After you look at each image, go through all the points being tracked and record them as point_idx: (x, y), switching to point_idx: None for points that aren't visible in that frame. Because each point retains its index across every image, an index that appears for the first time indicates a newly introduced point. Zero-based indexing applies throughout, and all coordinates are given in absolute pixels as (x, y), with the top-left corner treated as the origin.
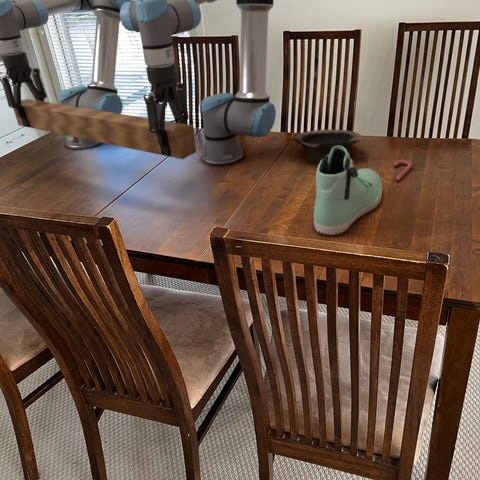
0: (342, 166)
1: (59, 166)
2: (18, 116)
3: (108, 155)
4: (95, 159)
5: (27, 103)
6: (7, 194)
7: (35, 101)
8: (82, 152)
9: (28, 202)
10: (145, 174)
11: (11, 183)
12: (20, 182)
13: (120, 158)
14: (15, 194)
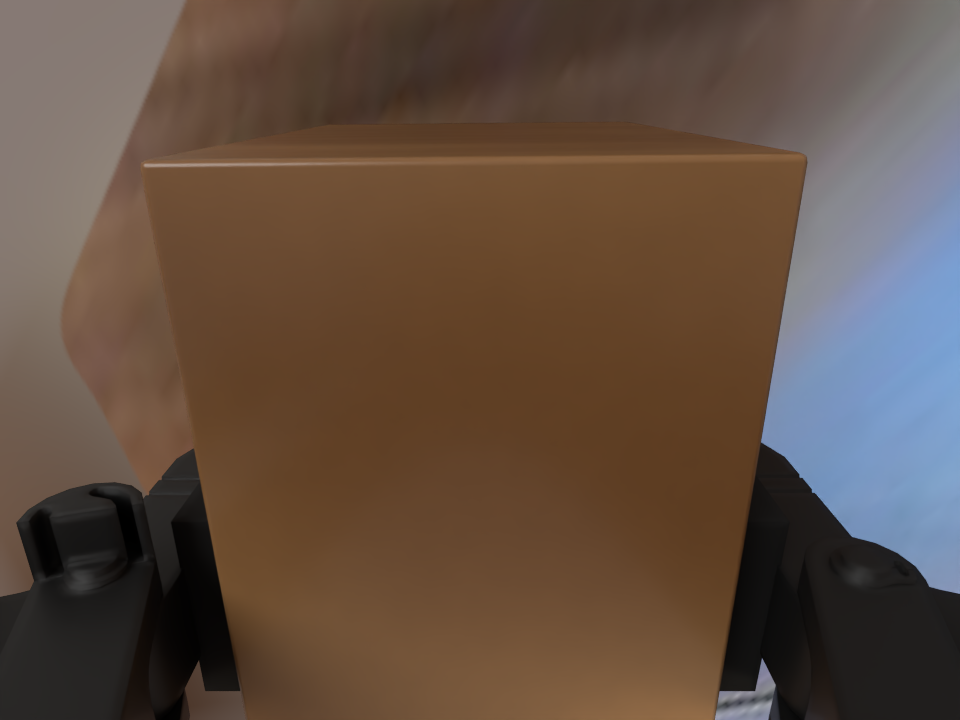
0: None
1: (636, 123)
2: (180, 467)
3: (936, 310)
4: (842, 281)
5: (421, 672)
6: (119, 215)
7: (642, 711)
8: (957, 35)
9: (159, 444)
10: (727, 701)
11: (228, 49)
12: (281, 106)
13: (901, 431)
14: (157, 269)
